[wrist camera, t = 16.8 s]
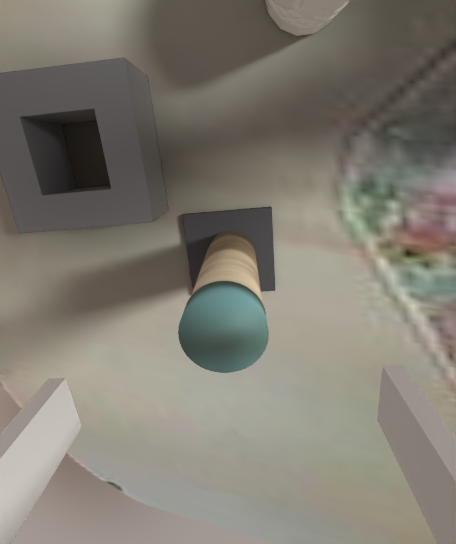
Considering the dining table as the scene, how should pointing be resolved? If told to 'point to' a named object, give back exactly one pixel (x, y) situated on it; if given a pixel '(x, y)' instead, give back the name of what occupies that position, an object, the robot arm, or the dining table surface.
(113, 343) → the dining table surface
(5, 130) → the socket
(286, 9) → the white cup
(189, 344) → the plug
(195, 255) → the mat
